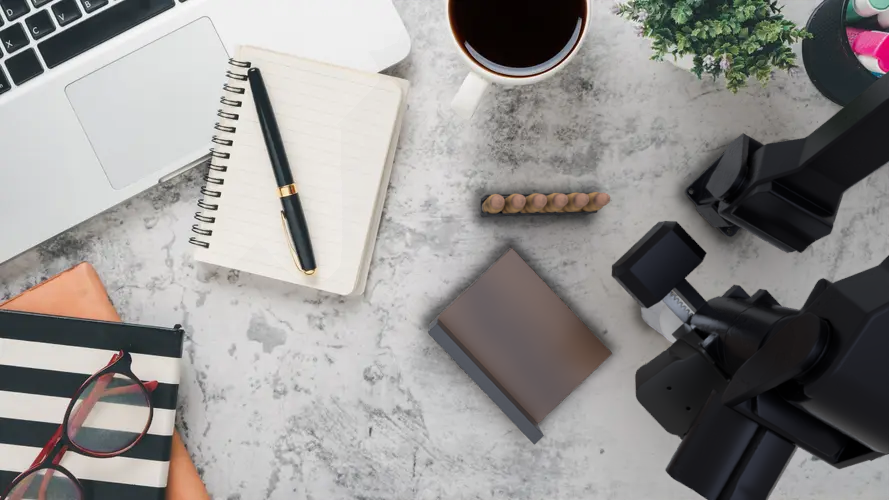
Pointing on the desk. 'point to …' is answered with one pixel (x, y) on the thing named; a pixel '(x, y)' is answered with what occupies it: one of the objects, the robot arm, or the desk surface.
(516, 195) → the ammunition clip
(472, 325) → the walnut board
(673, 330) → the milkshake
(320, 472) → the desk surface
